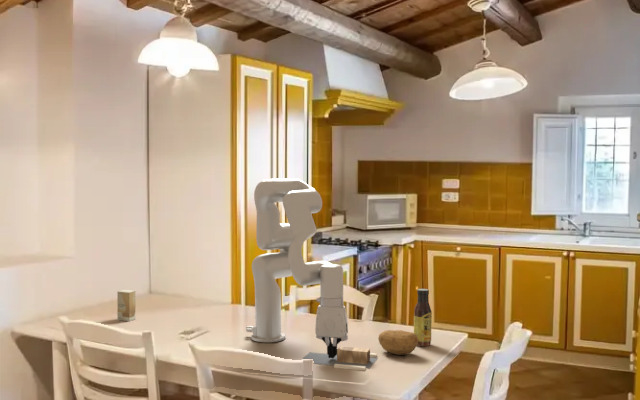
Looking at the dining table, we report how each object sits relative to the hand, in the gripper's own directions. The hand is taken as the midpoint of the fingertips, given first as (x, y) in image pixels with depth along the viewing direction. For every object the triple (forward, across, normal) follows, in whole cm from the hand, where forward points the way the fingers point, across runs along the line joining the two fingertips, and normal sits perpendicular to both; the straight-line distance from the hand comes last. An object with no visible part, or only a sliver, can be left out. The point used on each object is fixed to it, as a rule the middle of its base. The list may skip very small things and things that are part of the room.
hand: (332, 356), depth 232 cm
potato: (+2, +19, +14) cm, 24 cm away
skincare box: (+2, -99, +31) cm, 104 cm away
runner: (+1, +2, 0) cm, 2 cm away
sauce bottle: (+2, +25, +28) cm, 38 cm away
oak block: (-1, +2, 0) cm, 2 cm away
